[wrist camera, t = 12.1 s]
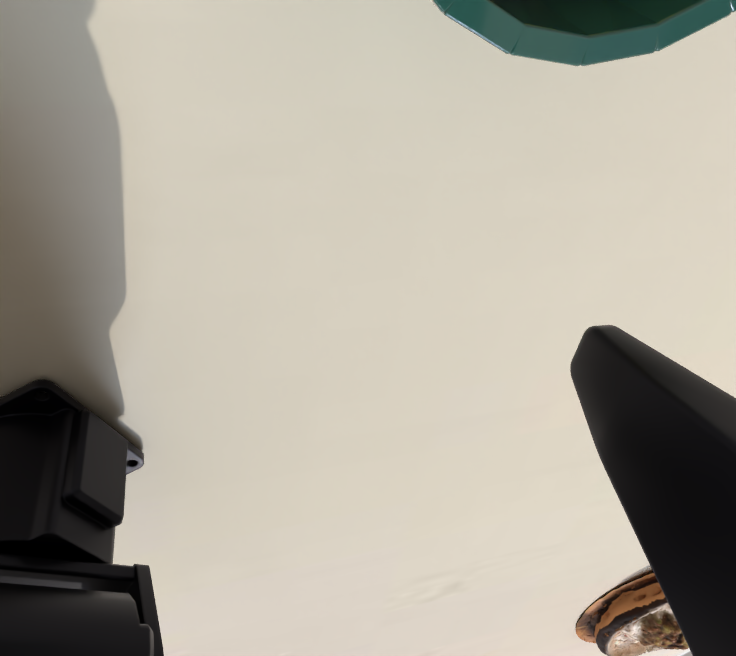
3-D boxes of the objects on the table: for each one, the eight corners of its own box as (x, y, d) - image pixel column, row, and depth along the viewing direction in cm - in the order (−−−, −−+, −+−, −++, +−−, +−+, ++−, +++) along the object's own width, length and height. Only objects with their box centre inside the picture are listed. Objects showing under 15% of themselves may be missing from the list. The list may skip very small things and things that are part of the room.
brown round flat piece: (549, 650, 60) (569, 698, 57) (627, 565, 51) (656, 617, 48) (675, 631, 64) (699, 675, 61) (766, 551, 55) (801, 597, 52)
